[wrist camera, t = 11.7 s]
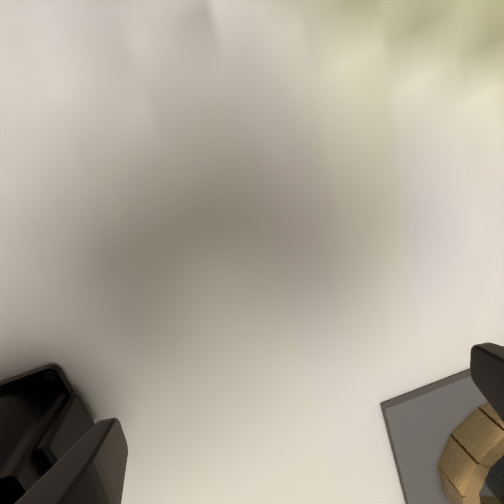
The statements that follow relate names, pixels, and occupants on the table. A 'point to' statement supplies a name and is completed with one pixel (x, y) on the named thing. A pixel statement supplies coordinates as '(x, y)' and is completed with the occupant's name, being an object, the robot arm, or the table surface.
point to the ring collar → (471, 456)
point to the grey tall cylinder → (496, 480)
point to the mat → (428, 433)
